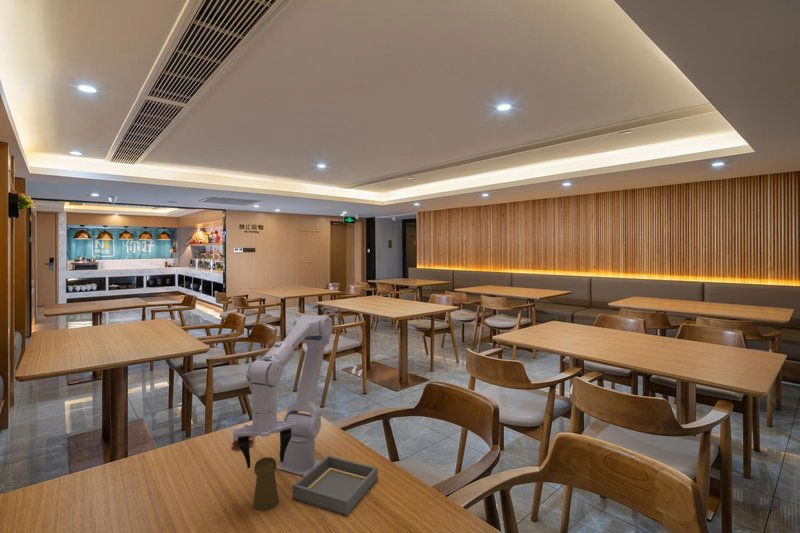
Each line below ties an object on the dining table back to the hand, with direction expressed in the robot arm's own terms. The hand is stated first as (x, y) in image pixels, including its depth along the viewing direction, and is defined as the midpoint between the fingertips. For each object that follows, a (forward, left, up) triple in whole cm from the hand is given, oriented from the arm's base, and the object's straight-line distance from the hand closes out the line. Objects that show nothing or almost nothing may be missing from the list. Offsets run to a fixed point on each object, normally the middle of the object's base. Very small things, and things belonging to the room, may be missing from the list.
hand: (265, 462), depth 100 cm
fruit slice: (-27, +20, -11) cm, 35 cm away
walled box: (+13, +12, -10) cm, 20 cm away
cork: (0, 0, -10) cm, 10 cm away
